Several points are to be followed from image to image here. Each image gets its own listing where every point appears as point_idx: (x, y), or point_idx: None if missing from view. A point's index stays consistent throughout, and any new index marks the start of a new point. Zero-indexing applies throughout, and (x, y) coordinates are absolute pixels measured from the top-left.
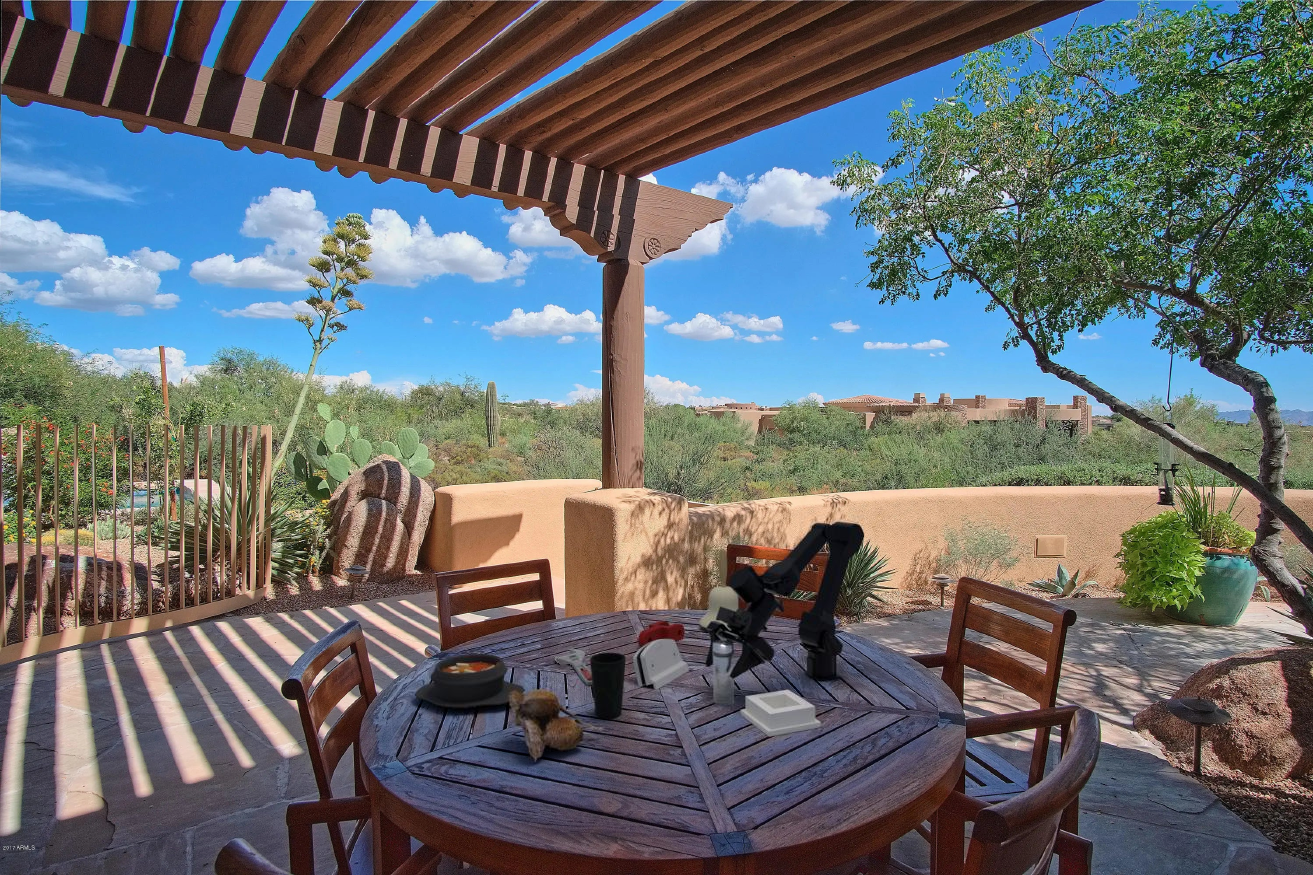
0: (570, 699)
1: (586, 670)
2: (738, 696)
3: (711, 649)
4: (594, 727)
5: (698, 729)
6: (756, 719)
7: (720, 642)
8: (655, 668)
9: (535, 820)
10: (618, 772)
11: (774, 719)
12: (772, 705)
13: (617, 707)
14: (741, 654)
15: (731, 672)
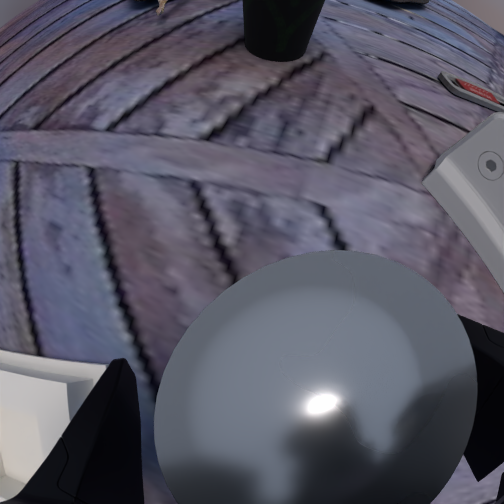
0: (369, 33)
1: (495, 101)
2: None
3: (475, 339)
4: (159, 2)
5: (76, 183)
6: (23, 364)
7: (400, 398)
8: (490, 181)
9: (37, 9)
10: (45, 47)
11: None
12: None
13: (247, 32)
14: (70, 497)
15: (114, 370)
